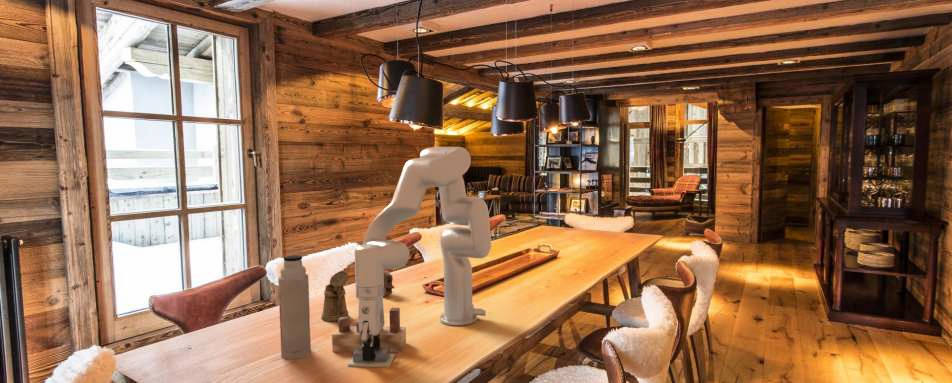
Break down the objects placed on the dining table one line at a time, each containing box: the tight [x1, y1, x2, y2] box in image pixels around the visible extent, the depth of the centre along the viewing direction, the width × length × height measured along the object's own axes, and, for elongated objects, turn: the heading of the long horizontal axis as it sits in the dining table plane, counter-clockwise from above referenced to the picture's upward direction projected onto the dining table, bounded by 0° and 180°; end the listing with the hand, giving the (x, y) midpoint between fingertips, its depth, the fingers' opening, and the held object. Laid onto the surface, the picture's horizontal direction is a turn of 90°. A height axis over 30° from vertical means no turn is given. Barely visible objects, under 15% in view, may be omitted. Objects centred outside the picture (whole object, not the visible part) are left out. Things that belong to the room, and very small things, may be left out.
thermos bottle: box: [277, 254, 312, 360], centre depth 144 cm, size 8×8×28 cm
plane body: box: [331, 307, 407, 353], centre depth 148 cm, size 20×7×11 cm, turn 87°
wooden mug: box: [321, 271, 349, 322], centre depth 174 cm, size 9×14×18 cm, turn 30°
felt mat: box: [347, 353, 395, 368], centre depth 139 cm, size 11×7×1 cm, turn 87°
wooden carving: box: [383, 269, 395, 297], centre depth 204 cm, size 16×5×10 cm, turn 41°
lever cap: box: [352, 347, 391, 362], centre depth 139 cm, size 9×5×3 cm, turn 88°
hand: (371, 355), depth 139 cm, fingers open, 5 cm apart
